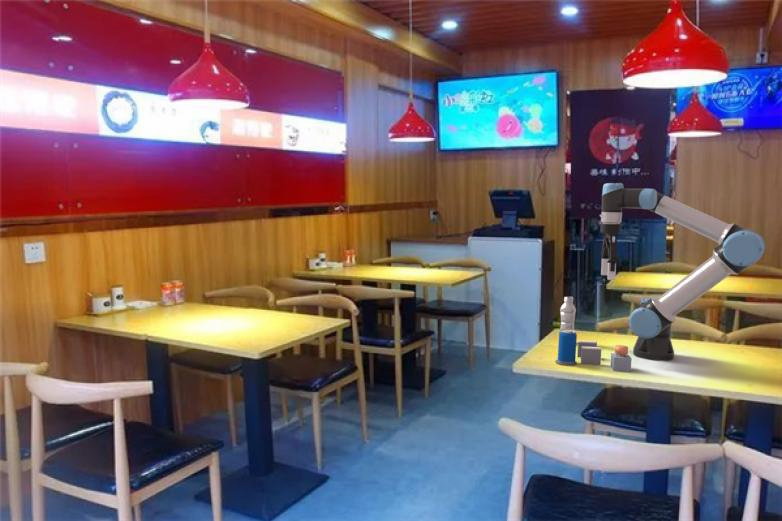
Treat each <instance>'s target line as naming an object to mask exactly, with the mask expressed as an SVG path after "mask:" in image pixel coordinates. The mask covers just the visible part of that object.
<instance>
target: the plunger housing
mask: <svg viewBox="0 0 782 521" xmlns="http://www.w3.org/2000/svg"><path fill="white" fill-rule="evenodd" d="M610 368H611V370H613V371H614V372H629V373H630V372H632V357H631V356H630V355H629V353H628V354H626V355H624V357H618V354H617V353H615V352H611V353H610Z"/></svg>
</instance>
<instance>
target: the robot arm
mask: <svg viewBox="0 0 782 521" xmlns="http://www.w3.org/2000/svg"><path fill="white" fill-rule="evenodd" d="M623 209H640V210H641V209H643V210H648V211H650V212H652V213H655V214H657V215H659V216H661V217H663V218H665V219H666V220H667V219H668V220H670V221H672V222H673V223H676V224H678V225H679V226H682V227H684V228H687V229H688V230H690V231H693V232H695V233H697V234H699V235H701V236H704V237H705V238H708V239H710V240H712V241H714V242H715V243H718V245H717V246H716V247H715V248H714V249H712V256H710V257H709V258H708V259H707V260H705V261H704V262H703V263H702V264H700V265H698V267H696V268H695V269H694V270H692V271H690V272H689V274H687V275H686V276H685V277H684V278H682V279H681V280H679V281H678V282H677V283H676V284H674V285H673V286H672V287H671V288H670V289H668V290H666V291H665V292H664V293H662V295H660V296H652V297H651V298H650V297H649V298H647V297H643V298H641V299H640V303H639V305H640V306H639V307H638V308H635V309H634V310H633V311H632V312H631V313H630V315H629V317H628V325H629V326H628V327H629V328H630V330H631V331H632V333H633V334H634V335H635V336H637V339H636V341H635V343H634V346H633V349H632V351H633V352H632V354H633V355H634V356H636V357H638V358H641V359H645V360H652V361H671V360H673V359H675V350H674V347H673V346H674V345H673V344H672V340H671V334H672V333H671V332H672V324H673V323H675V322H676V316H677V315H678V314H679V313H680V312H682V311H683V310H685V309H686V308H687V307H689V306H690V305H692V304H693V303H694V302H696V301H697V300H698V299H699V298H701V297H702V296H704V295H705V294H706V293H708V292H709V291H710V290H712V289H713V288H714V287H716V286H717V285H718V284H720V283H721V282H722V281H723V280H725V279H726V278H727V277H729V276H730V275H739V274H741V273H743V271H745V270H746V269H747V268H749V267H751V265H754V264H755V263H757V262H759V260H760V259H761V258H762V257H763V256H764V254H765V253H766V249H767V242H766V239H765V237H764V236H763V235H762V234H761V233H760V232H759V231H757V230H753V229H750V228H747V227H743V226H741V225H738V224H736V223H734V222H733V223H730V224H729V223H728V222H726V221H725V222H724V221H722V220H720V219H718V218H716V217H713V216H712V215H709V214H707V213H704V212H702V211H701V210H698V209H695V208H693V207H691V206H689V205H687V204H685V203H682V202H680V201H678V200H677V199H676V200H675V199H673V198H671V197H669V196H666V195H665V194H662V193H660V192H658V191H657V190H656V189H655V188H648V187H647V188H626V187H624V184H623V183H622V182H616V183H613V182H609V183H608V182H607V183H604V184H603V186H602V194H601V214H599V217H600V222H601V224H600V229H599V230H600V233H601V234H602V235H603V237H602V238H603V240H602V241H603V242H602V246H601V247H602V248H601V252H600V256H601V267H600V268H601V270H600V275H601V276H607V280H608V281H616V275H617V274H616V272H617V263H618V261H619V259H618V258H619V257H618V237H617V236H616V235H617V234H621V232H622V224H621V223H622V219H623Z"/></svg>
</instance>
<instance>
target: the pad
mask: <svg viewBox="0 0 782 521" xmlns="http://www.w3.org/2000/svg"><path fill="white" fill-rule="evenodd" d="M554 362H555V364H557V365H560V366H566V367H573V366H577V365H578V362H577V361H576V360H575V362H573V363H571V364H566V363H561V362H560V361H559V360H558V359H556V360H555V361H554Z"/></svg>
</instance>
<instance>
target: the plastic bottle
mask: <svg viewBox="0 0 782 521" xmlns="http://www.w3.org/2000/svg"><path fill="white" fill-rule="evenodd" d="M559 311H560V330H563V329H568V330H574V331H575V318H576V312H577V308H576V306H575V305H574V297H573V296H564V297H563V303H562V305H561V306H560V308H559ZM560 332H561V331H559V333H560Z"/></svg>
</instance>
